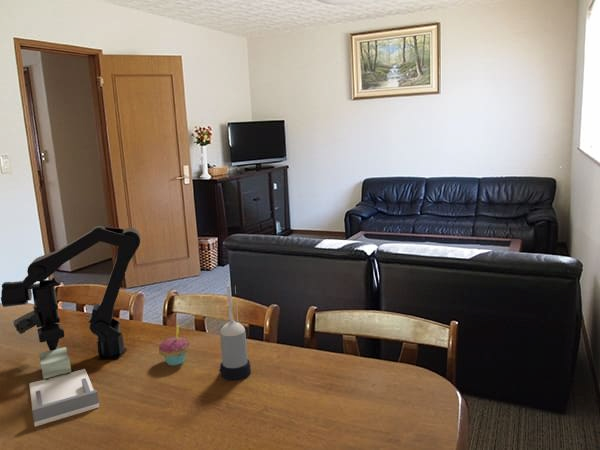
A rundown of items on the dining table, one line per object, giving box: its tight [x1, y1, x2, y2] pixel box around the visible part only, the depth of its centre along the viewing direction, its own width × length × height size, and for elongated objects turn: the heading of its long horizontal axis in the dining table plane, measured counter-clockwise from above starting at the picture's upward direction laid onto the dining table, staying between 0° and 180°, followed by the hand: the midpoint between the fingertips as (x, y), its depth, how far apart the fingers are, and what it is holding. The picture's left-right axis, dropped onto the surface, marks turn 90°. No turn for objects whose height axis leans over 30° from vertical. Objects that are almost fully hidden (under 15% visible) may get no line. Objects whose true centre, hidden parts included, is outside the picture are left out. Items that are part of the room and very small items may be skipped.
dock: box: [28, 368, 100, 427], centre depth 127 cm, size 24×14×5 cm, turn 31°
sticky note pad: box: [38, 346, 72, 380], centre depth 140 cm, size 9×7×5 cm
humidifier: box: [218, 284, 252, 382], centre depth 132 cm, size 8×8×25 cm
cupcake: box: [158, 322, 191, 366], centre depth 142 cm, size 9×8×12 cm
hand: (53, 352), depth 144 cm, fingers closed
